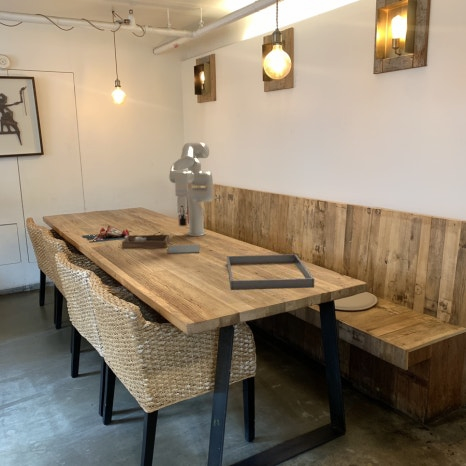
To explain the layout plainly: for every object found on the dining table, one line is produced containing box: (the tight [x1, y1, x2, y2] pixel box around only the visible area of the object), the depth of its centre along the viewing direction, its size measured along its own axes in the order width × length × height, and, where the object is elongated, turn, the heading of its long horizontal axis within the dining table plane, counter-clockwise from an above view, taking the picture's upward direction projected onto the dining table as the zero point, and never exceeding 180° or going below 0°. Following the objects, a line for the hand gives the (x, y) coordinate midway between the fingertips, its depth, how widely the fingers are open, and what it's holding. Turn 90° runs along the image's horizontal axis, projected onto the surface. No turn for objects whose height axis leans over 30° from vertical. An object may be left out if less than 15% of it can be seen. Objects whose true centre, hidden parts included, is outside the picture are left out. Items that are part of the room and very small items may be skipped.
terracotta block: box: [177, 213, 189, 227], centre depth 269 cm, size 5×5×6 cm
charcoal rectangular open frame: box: [226, 253, 315, 291], centre depth 220 cm, size 43×36×4 cm
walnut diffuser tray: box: [121, 234, 170, 250], centre depth 286 cm, size 19×26×4 cm
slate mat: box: [166, 244, 201, 255], centre depth 272 cm, size 18×18×1 cm
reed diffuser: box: [134, 231, 166, 242], centre depth 289 cm, size 10×7×20 cm
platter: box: [81, 225, 137, 244], centre depth 311 cm, size 35×27×9 cm
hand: (183, 224), depth 269 cm, fingers closed on terracotta block, 5 cm apart
